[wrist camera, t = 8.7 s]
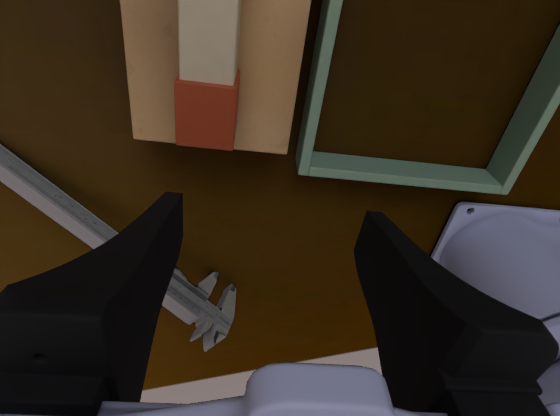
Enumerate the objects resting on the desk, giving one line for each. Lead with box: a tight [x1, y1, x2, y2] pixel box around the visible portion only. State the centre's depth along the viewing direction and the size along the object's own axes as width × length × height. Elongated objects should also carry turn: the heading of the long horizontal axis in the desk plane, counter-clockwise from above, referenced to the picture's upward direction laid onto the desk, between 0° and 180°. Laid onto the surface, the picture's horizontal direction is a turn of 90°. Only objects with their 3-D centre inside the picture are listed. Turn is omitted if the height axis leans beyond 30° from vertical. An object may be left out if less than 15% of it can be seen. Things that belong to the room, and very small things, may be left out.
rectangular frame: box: [295, 0, 560, 195], centre depth 19 cm, size 13×16×2 cm
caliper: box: [0, 143, 236, 352], centre depth 23 cm, size 20×1×6 cm, turn 46°
